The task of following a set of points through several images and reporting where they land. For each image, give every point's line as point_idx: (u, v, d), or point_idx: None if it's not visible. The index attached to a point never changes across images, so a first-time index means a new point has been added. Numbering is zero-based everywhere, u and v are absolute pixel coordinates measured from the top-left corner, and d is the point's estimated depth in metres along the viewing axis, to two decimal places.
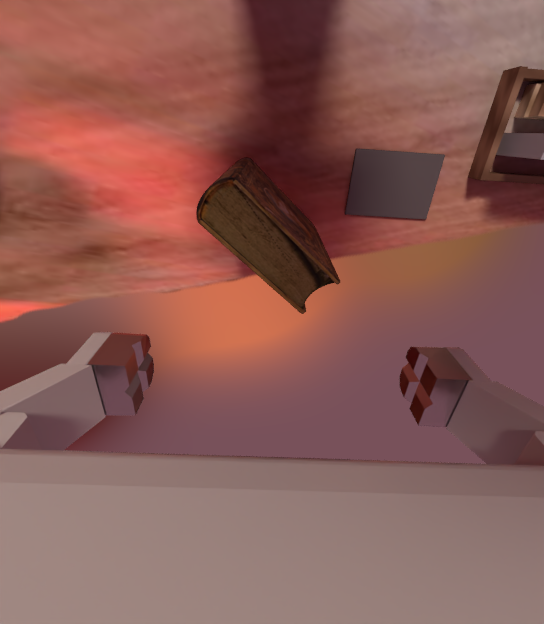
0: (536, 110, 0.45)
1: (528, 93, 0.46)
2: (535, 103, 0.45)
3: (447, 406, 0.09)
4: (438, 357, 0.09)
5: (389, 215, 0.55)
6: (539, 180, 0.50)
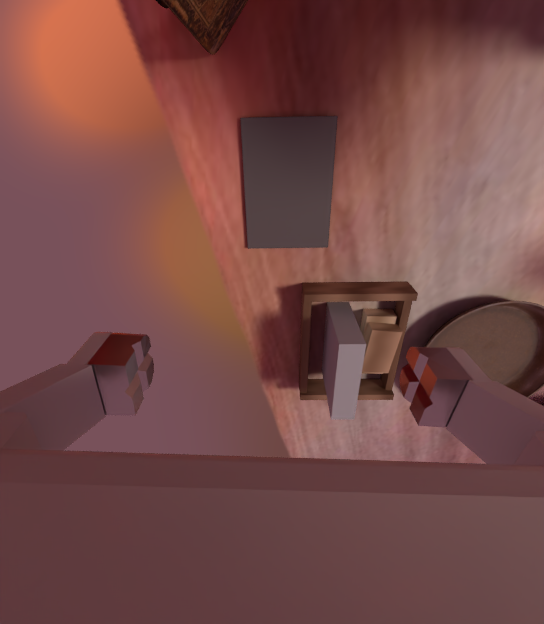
0: (375, 327, 0.42)
1: (386, 313, 0.44)
2: (380, 324, 0.43)
3: (447, 406, 0.09)
4: (438, 357, 0.09)
5: (247, 194, 0.37)
6: (305, 353, 0.45)
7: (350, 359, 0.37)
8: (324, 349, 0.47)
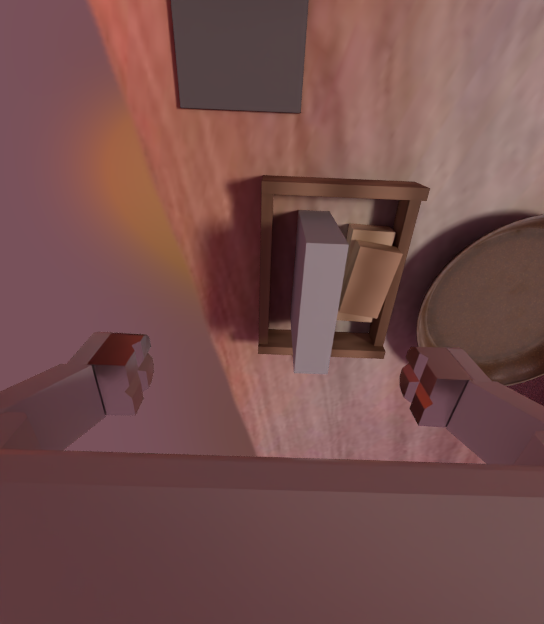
0: (365, 244, 0.29)
1: (381, 229, 0.31)
2: (372, 243, 0.30)
3: (447, 406, 0.09)
4: (438, 357, 0.09)
5: (174, 3, 0.23)
6: (264, 282, 0.32)
7: (324, 271, 0.24)
8: (293, 283, 0.34)
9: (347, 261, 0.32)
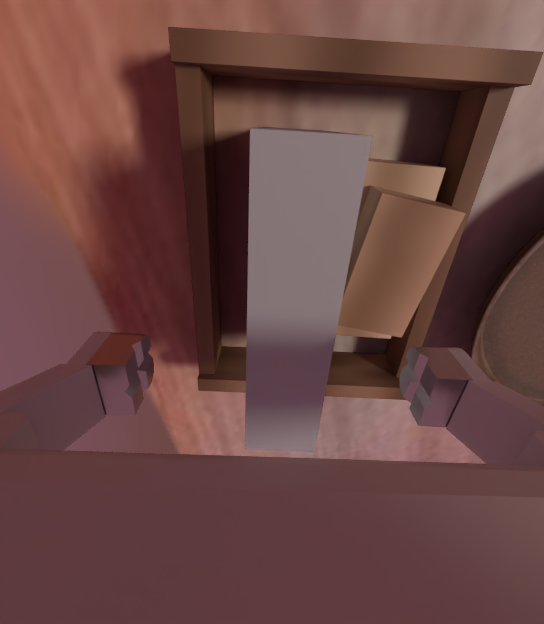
0: (391, 193, 0.15)
1: (415, 164, 0.16)
2: (403, 194, 0.16)
3: (447, 406, 0.09)
4: (438, 357, 0.09)
5: None
6: (199, 265, 0.17)
7: (303, 219, 0.09)
8: None
9: None
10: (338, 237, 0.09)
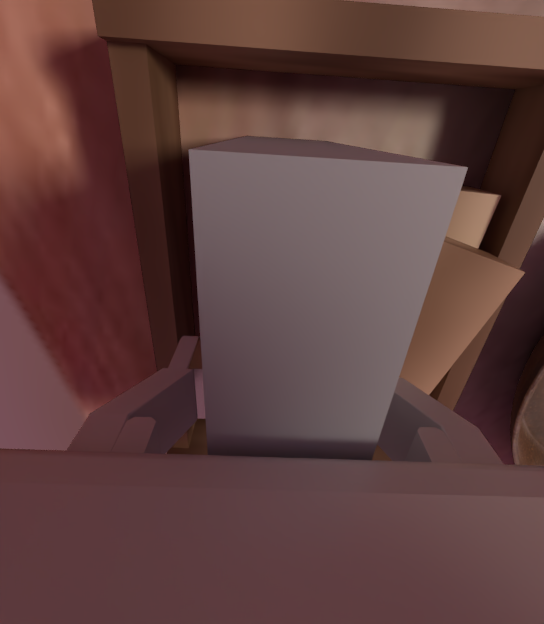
0: None
1: None
2: None
3: None
4: None
5: None
6: (161, 320, 0.13)
7: (308, 325, 0.04)
8: None
9: None
10: (376, 355, 0.05)
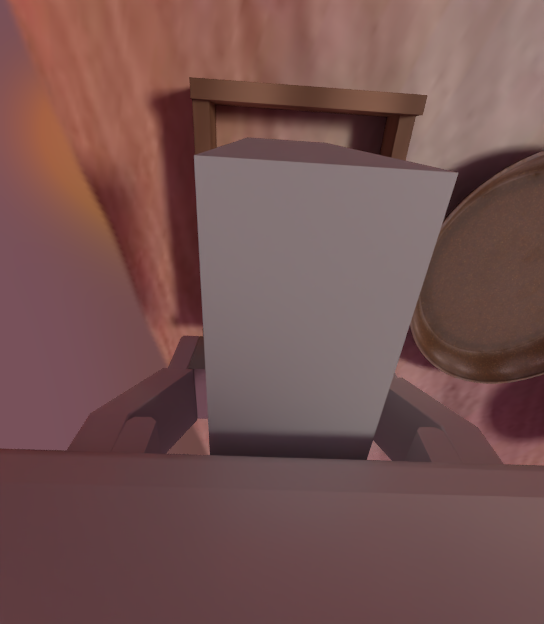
0: None
1: None
2: None
3: None
4: None
5: None
6: None
7: (307, 323, 0.05)
8: None
9: None
10: (372, 351, 0.05)
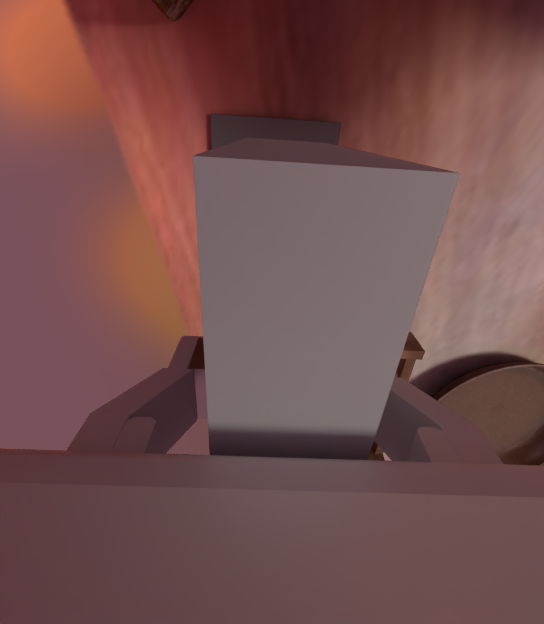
0: None
1: None
2: None
3: None
4: None
5: None
6: None
7: (308, 325, 0.05)
8: None
9: None
10: (373, 353, 0.05)
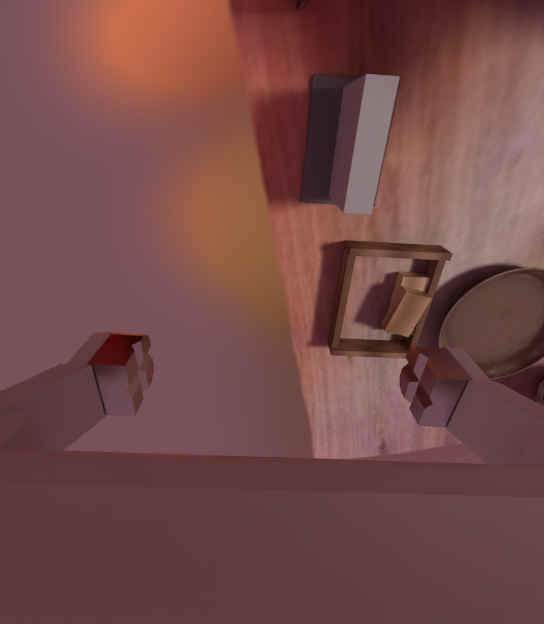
0: (408, 290, 0.47)
1: (420, 275, 0.48)
2: (412, 289, 0.47)
3: (447, 406, 0.09)
4: (438, 357, 0.09)
5: (308, 149, 0.40)
6: (342, 308, 0.48)
7: (378, 103, 0.29)
8: (335, 158, 0.40)
9: None
10: (388, 110, 0.30)
